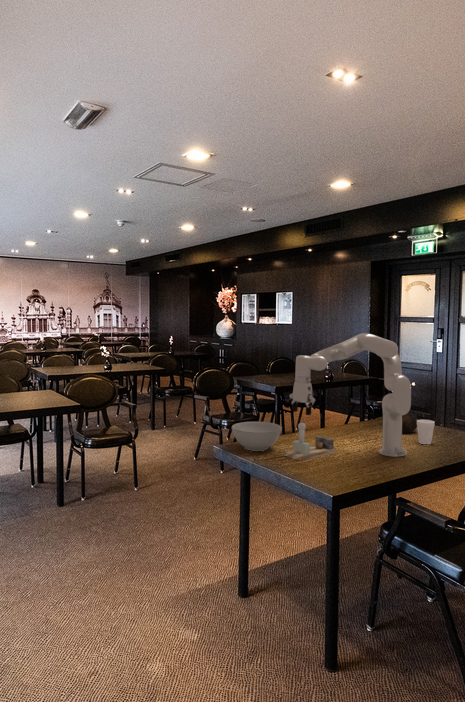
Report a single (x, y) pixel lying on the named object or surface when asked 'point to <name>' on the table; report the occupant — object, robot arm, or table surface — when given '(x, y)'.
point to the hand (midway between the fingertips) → (301, 413)
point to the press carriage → (301, 441)
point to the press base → (313, 450)
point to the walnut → (319, 445)
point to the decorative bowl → (256, 434)
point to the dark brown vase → (409, 422)
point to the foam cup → (425, 431)
